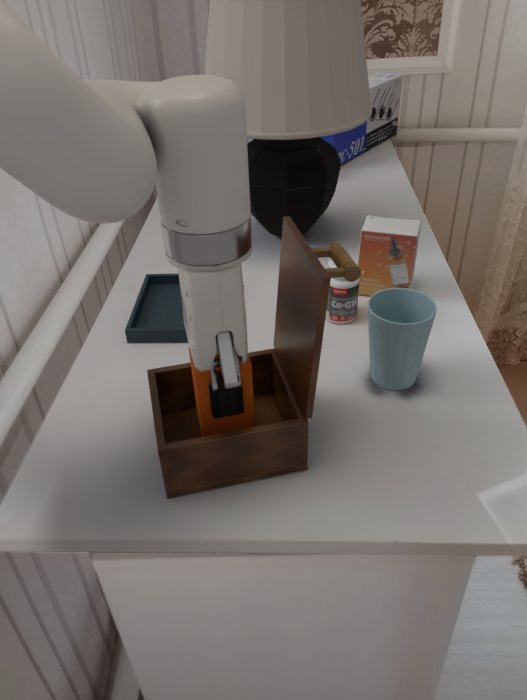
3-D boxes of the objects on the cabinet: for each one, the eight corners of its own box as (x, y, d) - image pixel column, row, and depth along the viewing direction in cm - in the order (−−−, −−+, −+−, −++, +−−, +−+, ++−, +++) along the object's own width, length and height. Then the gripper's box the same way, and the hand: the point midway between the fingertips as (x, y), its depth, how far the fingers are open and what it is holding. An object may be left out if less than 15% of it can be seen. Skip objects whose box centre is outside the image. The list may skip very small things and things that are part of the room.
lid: (323, 278, 49) (381, 274, 50) (283, 216, 59) (332, 214, 60) (305, 419, 58) (355, 413, 59) (273, 345, 67) (316, 340, 69)
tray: (209, 342, 81) (207, 329, 79) (127, 342, 81) (124, 330, 80) (219, 284, 93) (218, 272, 92) (148, 285, 93) (146, 273, 92)
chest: (167, 499, 60) (157, 451, 55) (155, 415, 69) (146, 369, 65) (308, 469, 62) (308, 422, 58) (277, 393, 72) (276, 347, 68)
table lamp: (203, 270, 97) (172, -19, 73) (218, 203, 118) (198, -37, 94) (372, 268, 95) (397, -28, 72) (356, 200, 117) (371, -44, 93)
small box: (354, 295, 89) (359, 230, 83) (361, 277, 93) (365, 213, 87) (409, 302, 87) (418, 236, 81) (413, 283, 91) (422, 219, 85)
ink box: (333, 171, 130) (336, 102, 122) (308, 165, 134) (309, 98, 125) (398, 134, 149) (404, 73, 141) (374, 130, 153) (379, 70, 144)
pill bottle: (330, 327, 83) (332, 274, 78) (318, 309, 86) (319, 257, 81) (362, 321, 83) (366, 268, 78) (349, 304, 87) (352, 252, 82)
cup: (351, 384, 73) (356, 312, 66) (375, 351, 78) (382, 281, 72) (411, 404, 69) (423, 330, 63) (432, 368, 75) (445, 297, 68)
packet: (205, 455, 63) (194, 374, 56) (198, 426, 67) (188, 347, 60) (256, 445, 64) (251, 364, 57) (247, 417, 67) (242, 338, 61)
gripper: (154, 203, 57) (177, 355, 68) (175, 291, 44) (199, 463, 55) (231, 193, 58) (242, 345, 69) (275, 276, 45) (279, 447, 56)
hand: (223, 395), depth 62 cm, fingers closed on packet, 4 cm apart
